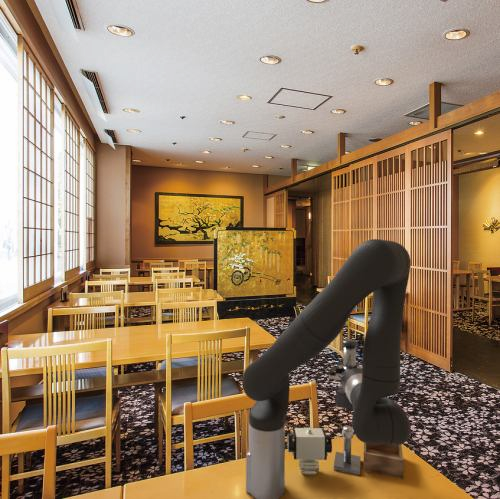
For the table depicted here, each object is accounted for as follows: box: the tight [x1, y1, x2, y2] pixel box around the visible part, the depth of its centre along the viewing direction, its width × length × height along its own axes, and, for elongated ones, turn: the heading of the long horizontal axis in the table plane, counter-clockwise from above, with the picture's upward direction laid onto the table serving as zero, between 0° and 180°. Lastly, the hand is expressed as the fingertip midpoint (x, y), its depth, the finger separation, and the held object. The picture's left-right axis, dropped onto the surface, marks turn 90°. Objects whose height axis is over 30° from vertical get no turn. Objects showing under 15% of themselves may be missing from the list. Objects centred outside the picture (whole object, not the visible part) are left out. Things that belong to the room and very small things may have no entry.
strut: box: [335, 338, 358, 412], centre depth 99 cm, size 5×5×18 cm
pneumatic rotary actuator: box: [286, 426, 333, 476], centre depth 97 cm, size 6×12×12 cm, turn 89°
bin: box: [363, 442, 405, 480], centre depth 101 cm, size 10×10×5 cm
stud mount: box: [333, 425, 362, 476], centre depth 100 cm, size 7×7×11 cm
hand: (347, 365), depth 102 cm, fingers closed on strut, 3 cm apart
